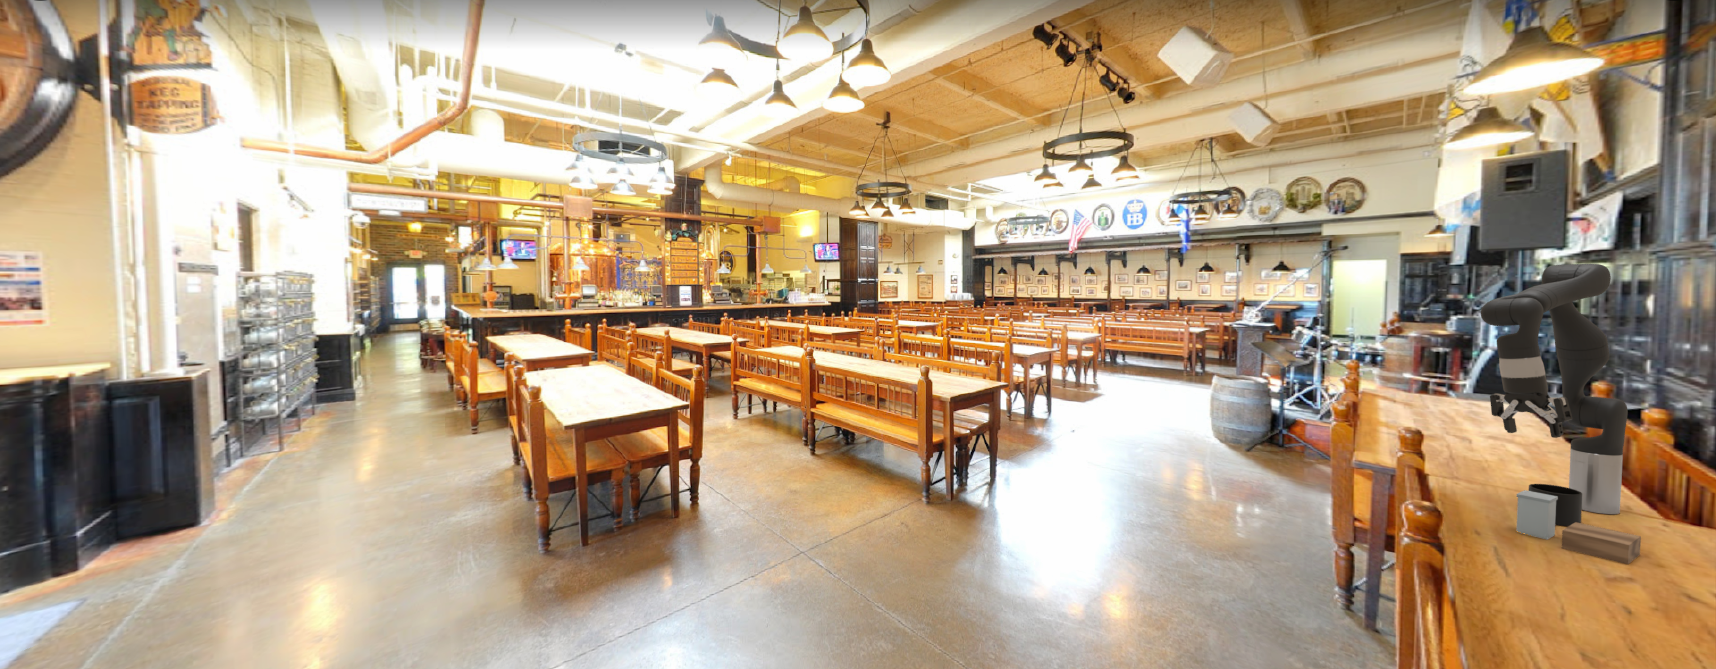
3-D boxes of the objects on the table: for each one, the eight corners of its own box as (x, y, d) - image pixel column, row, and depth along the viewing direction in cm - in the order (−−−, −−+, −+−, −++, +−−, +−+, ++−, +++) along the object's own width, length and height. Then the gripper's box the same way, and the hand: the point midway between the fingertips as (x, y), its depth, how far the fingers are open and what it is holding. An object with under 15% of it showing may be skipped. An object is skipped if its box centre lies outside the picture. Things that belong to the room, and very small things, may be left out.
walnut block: (1574, 540, 145) (1575, 521, 145) (1639, 555, 136) (1640, 536, 136) (1561, 549, 141) (1562, 529, 140) (1627, 565, 132) (1628, 545, 131)
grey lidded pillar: (1523, 527, 153) (1524, 489, 152) (1556, 535, 148) (1557, 496, 147) (1515, 532, 150) (1516, 493, 150) (1548, 539, 145) (1549, 500, 145)
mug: (1578, 517, 158) (1580, 486, 158) (1582, 529, 150) (1583, 497, 150) (1527, 508, 165) (1528, 479, 165) (1527, 520, 158) (1529, 489, 157)
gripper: (1572, 372, 139) (1583, 435, 139) (1498, 370, 153) (1509, 428, 153) (1549, 377, 138) (1560, 441, 138) (1477, 375, 152) (1487, 433, 152)
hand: (1533, 434), depth 145 cm, fingers open, 8 cm apart
